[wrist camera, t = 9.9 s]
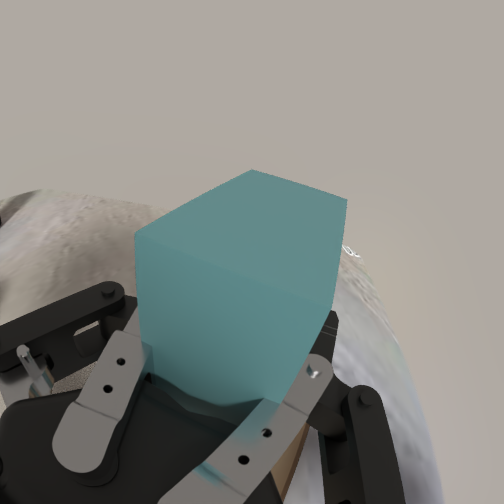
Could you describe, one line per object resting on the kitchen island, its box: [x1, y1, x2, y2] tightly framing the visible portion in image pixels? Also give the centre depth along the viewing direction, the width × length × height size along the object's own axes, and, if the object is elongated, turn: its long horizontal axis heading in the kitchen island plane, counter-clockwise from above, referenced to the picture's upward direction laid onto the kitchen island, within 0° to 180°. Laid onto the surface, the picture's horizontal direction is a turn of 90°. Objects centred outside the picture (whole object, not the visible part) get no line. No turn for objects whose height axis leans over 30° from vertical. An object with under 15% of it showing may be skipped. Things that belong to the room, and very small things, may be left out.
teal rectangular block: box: [135, 170, 347, 426], centre depth 11 cm, size 4×7×12 cm, turn 160°
